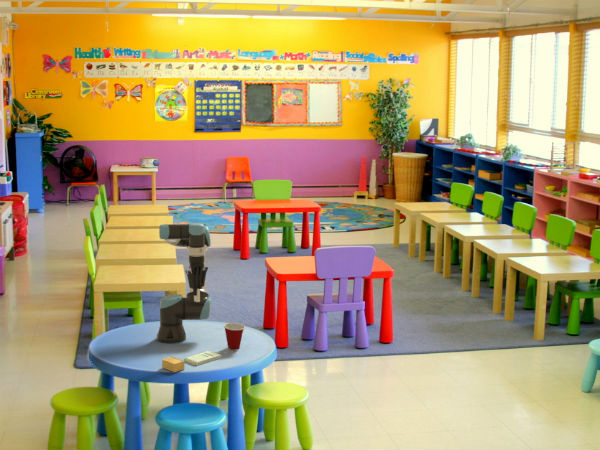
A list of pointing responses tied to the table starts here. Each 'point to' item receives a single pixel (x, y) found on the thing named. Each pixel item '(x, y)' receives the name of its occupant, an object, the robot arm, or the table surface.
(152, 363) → the table surface
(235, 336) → the plastic cup
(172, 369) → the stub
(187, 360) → the pale green flat block
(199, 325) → the table surface
